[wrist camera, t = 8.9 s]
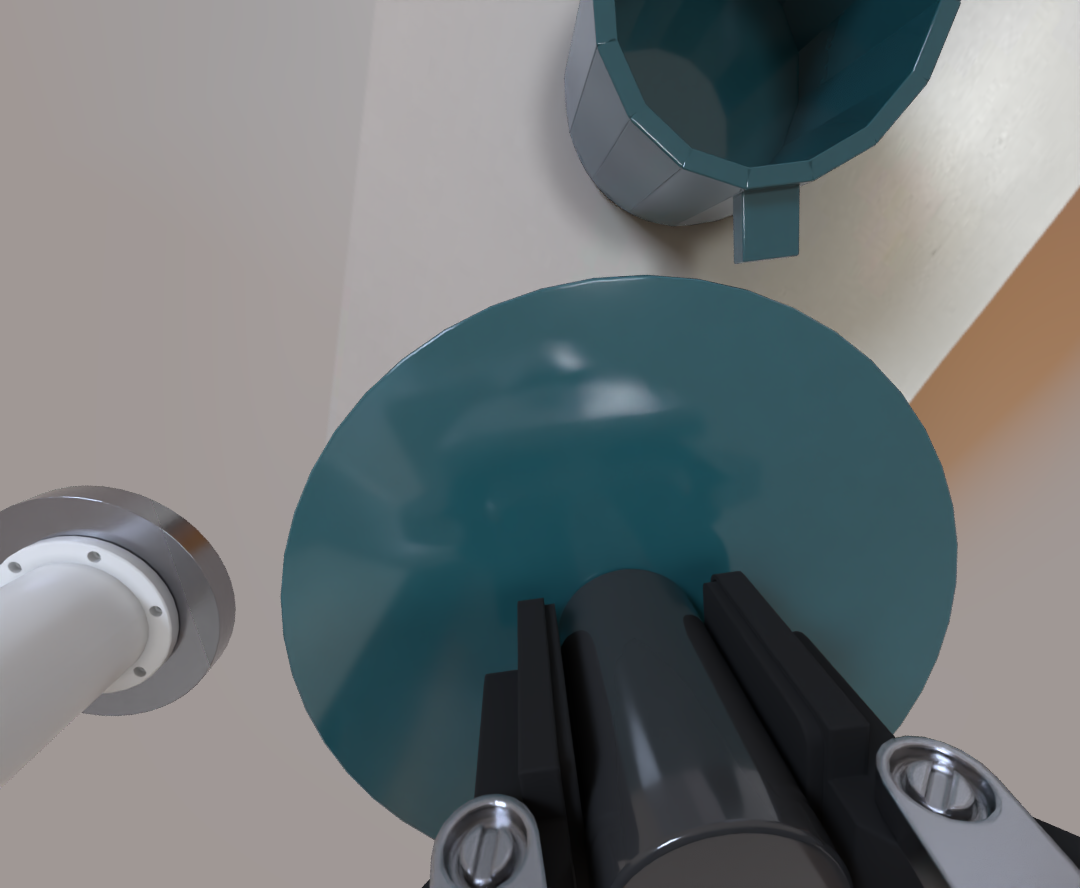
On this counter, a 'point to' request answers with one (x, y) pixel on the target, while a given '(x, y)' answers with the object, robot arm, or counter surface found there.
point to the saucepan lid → (619, 561)
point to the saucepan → (740, 102)
